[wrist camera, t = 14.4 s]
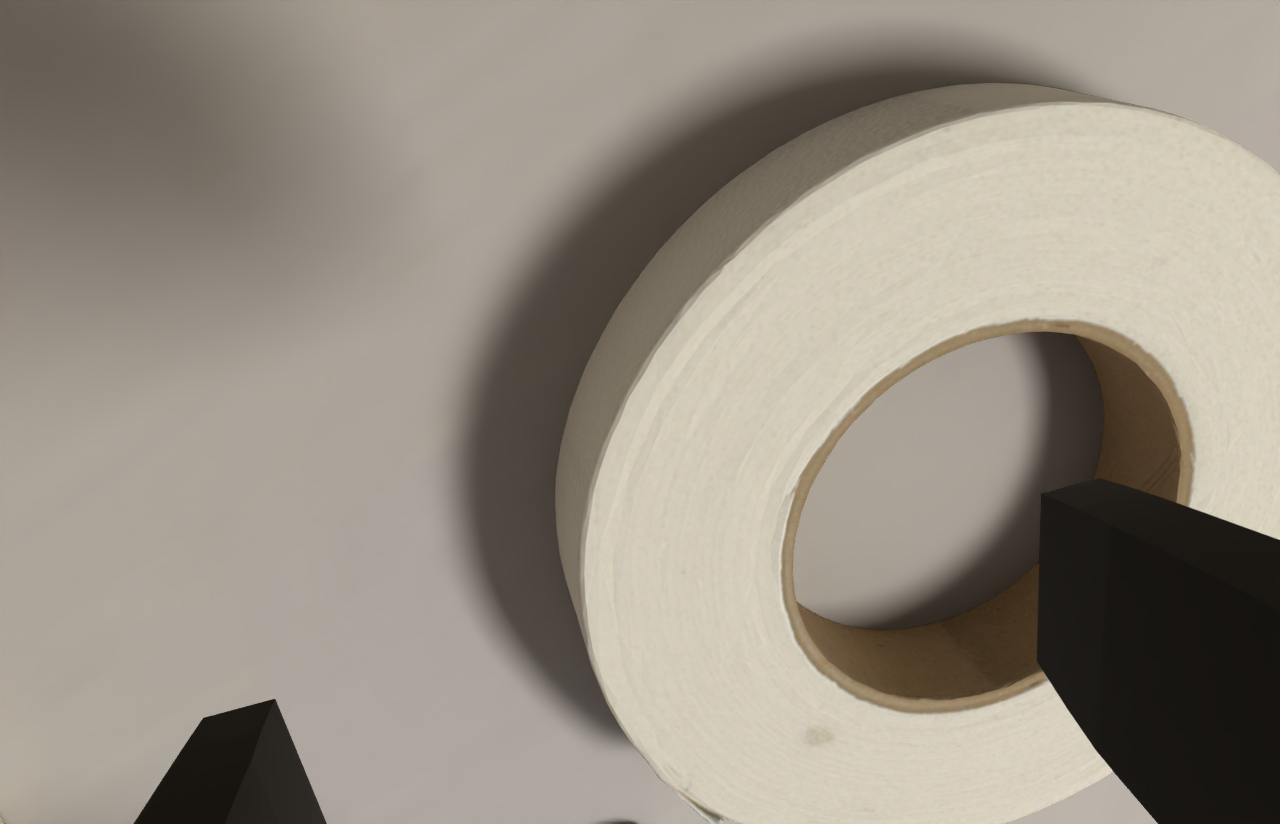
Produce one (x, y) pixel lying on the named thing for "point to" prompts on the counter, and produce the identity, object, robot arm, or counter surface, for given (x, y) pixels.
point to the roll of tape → (849, 383)
